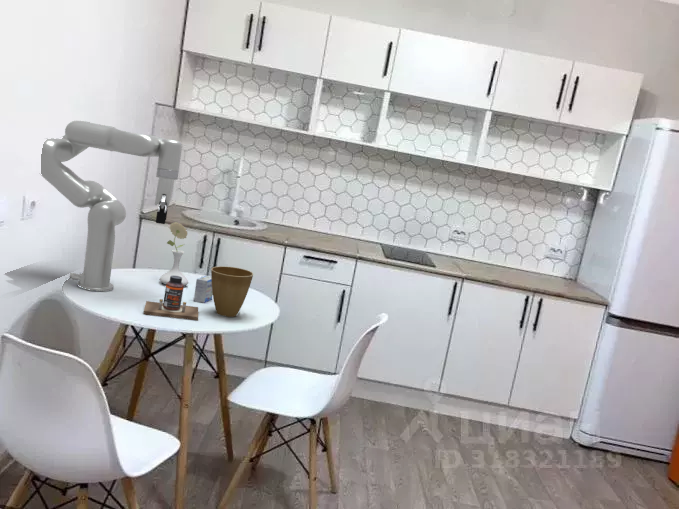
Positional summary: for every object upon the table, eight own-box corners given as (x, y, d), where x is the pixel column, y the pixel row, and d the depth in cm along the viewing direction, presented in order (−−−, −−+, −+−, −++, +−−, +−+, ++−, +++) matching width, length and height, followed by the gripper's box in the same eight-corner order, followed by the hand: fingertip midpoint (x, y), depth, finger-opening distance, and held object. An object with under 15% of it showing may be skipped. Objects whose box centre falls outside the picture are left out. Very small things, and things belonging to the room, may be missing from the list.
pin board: (143, 314, 229) (145, 301, 228) (145, 304, 241) (147, 291, 240) (197, 320, 233) (199, 307, 232) (197, 310, 245) (199, 297, 245)
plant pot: (225, 306, 257) (231, 265, 255) (254, 317, 249) (261, 274, 247) (196, 310, 245) (202, 266, 243) (226, 322, 237) (233, 277, 235)
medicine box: (204, 303, 256) (207, 280, 255) (193, 300, 257) (196, 278, 256) (212, 299, 264) (215, 277, 263) (201, 297, 265) (204, 275, 264)
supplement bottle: (164, 310, 233) (169, 278, 231) (160, 305, 238) (165, 274, 236) (182, 311, 236) (186, 279, 234) (177, 306, 241) (182, 275, 239)
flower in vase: (193, 287, 277) (202, 227, 274) (170, 288, 269) (178, 226, 265) (174, 279, 286) (182, 220, 282) (150, 280, 277) (159, 219, 273)
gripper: (157, 170, 252) (151, 216, 255) (155, 174, 235) (148, 223, 238) (178, 174, 254) (172, 219, 256) (177, 178, 237) (170, 226, 240)
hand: (160, 221), depth 247 cm, fingers open, 9 cm apart
